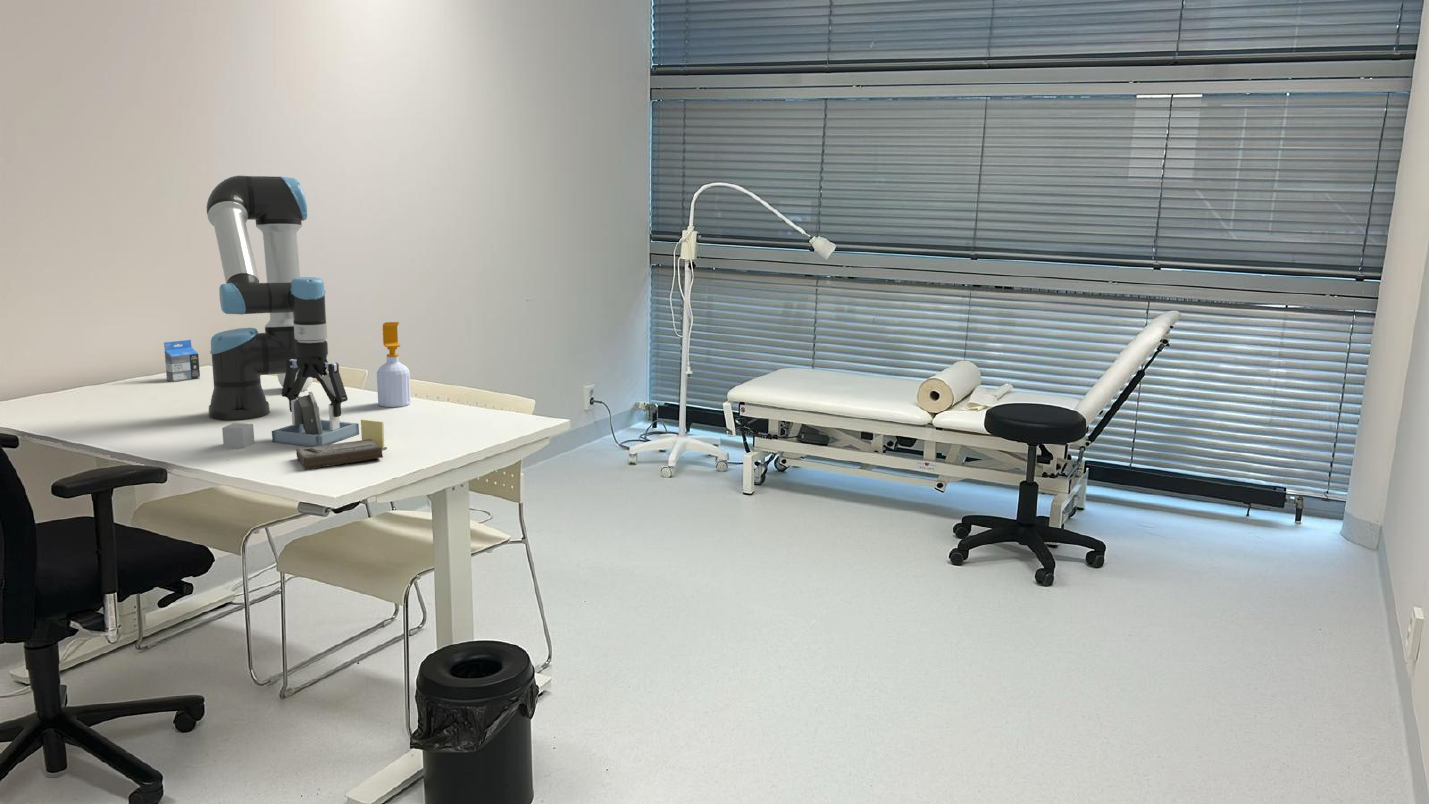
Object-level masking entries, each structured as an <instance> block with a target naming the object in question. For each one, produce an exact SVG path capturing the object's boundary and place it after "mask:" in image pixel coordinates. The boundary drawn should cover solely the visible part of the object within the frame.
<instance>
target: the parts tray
mask: <svg viewBox="0 0 1429 804" xmlns="http://www.w3.org/2000/svg"><path fill="white" fill-rule="evenodd" d="M320 421H321V426H322V432H323V434H321V435H318V434H315V435H311V434H306V433H305V430H304V427H303V425H304V424H300V425H297V426H293V424H290V425H288V426H284V427H281V428H278V429H274V430H271V438H272V439H271V441H272V443H276V444H277V443H278V444H285V445H286V444H287V445H292V446H302V447H315V446H323V445H330V444H336V443H339V442H340V441H343V440H346V439H350V438H352V437H354V436H358V435H360V426H359V425H360V424H359V423H357V422H356V423H355V422H348V421H340V420H339V424H340V428H338V429H335V430H330V420H329V419H322V418H320Z"/></svg>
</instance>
